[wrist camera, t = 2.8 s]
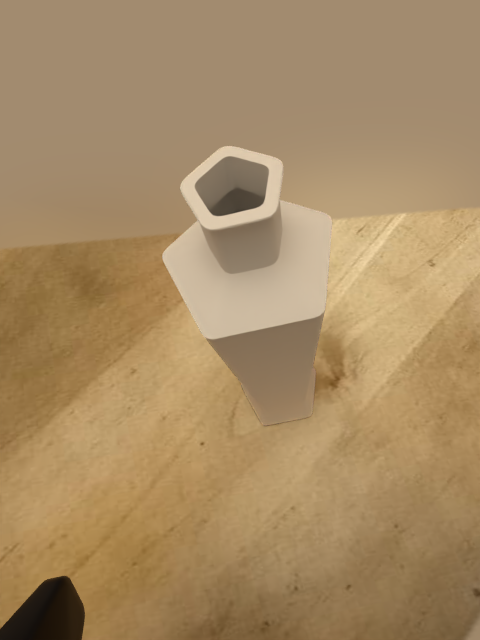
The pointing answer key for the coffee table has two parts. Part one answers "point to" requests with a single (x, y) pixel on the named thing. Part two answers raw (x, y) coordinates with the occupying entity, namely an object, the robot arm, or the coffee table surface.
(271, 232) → the white pentagonal vase
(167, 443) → the coffee table surface
